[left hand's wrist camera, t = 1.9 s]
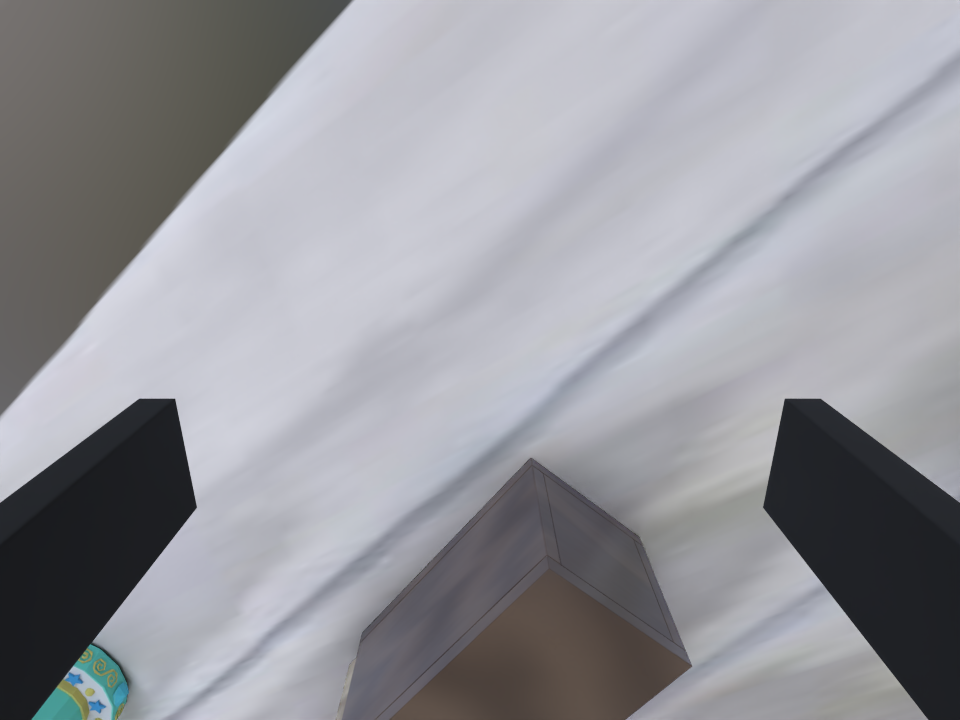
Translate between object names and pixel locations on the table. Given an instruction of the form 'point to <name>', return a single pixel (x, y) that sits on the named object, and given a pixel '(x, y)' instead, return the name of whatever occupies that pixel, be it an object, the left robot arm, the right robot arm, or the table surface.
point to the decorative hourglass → (88, 691)
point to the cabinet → (523, 619)
